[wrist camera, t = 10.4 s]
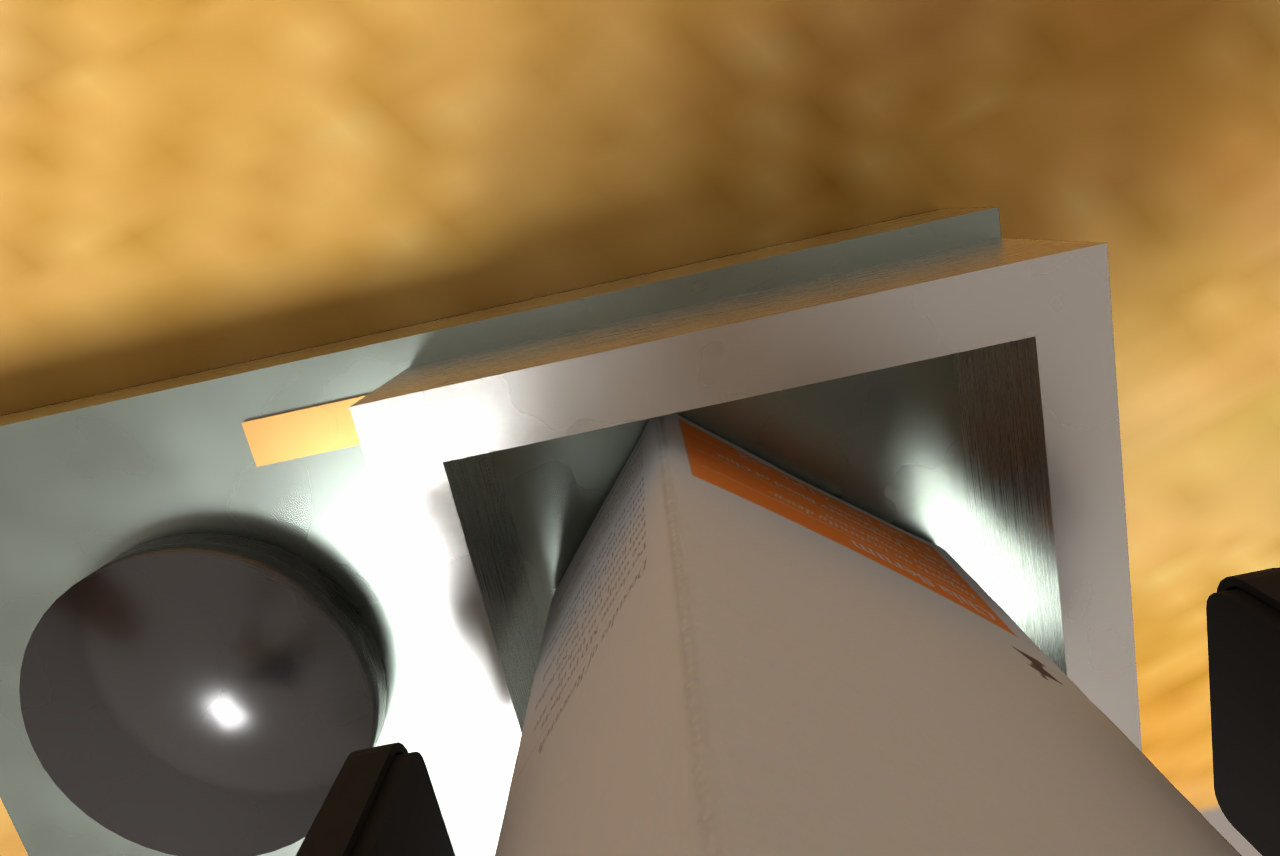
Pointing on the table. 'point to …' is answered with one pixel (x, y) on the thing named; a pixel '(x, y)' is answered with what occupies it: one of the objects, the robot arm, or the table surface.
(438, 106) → the table surface
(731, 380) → the divided tray with ball
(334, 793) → the robot arm
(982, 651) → the skincare box
